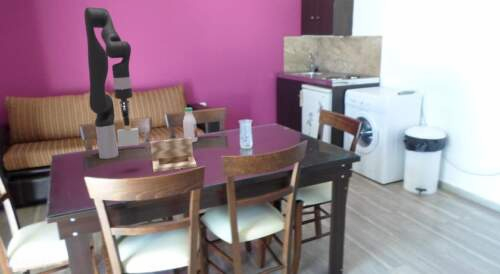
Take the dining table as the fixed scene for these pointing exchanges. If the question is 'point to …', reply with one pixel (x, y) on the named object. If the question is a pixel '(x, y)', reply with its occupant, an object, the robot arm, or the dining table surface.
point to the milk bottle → (189, 125)
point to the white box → (128, 135)
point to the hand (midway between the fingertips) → (127, 124)
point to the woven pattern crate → (172, 154)
